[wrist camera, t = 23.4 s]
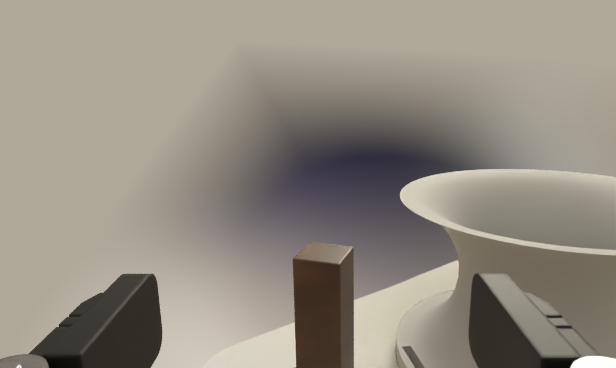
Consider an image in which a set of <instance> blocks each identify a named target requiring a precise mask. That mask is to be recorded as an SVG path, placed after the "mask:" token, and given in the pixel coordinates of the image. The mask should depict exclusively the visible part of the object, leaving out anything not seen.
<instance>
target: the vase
mask: <svg viewBox="0 0 616 368" xmlns="http://www.w3.org/2000/svg"><path fill="white" fill-rule="evenodd" d="M400 198H401V200H402V202H403V203H404V204H405V206H406V207H408V208H409V209H410V210H412V211H413V212H415V213H416V214H418V215H420V216H422V217H424V218H426V219H428V220H430V221H433V222H435V223H438V224H440V225H441V226H442V227H443V228H445V230H446V231H447V233H448V234H449V236H450V237H451V239H452V241H453V243H454V245H455V248H456V250H457V255H458V261H459V277H458V281H457V284H456V288H455V290H452V291H447V292H443V293H440V294H437V295H434V296H431V297H429V298H426V299H424V300H422V301H421V302H419V303H417V304H416V305H414V306H413V307H412V308H411V309H409V310H408V311H407V313H406V314H405V315H404V316H403V318H402V319H401V321H400V323H399V326H398V329H397V342H396V356H397V362H398V366H399V368H478V366H477V364H476V362H475V360H474V359H473V356H472V354H471V350H470V345H469V336H468V330H469V315H470V301H471V286H472V279H473V276H474V274H476V273H507V274H508V275H510V277H511V278H512V279H513V280H514V281H515V282H516V283H517V284H518V285H519V287H520V288H521V289H522V290H523V291H524V292H525V293H533V294H534V295H536V296H538V297H540V298H542V299H543V300H545V301H547V302H549V303H550V304H551V305H552V306H553V307H554V308H555V309H556V310H557V311H558V312H559V313H560V314H561V315H562V318H565V319H566V320H567V321H568V322H569V323H570V324H571V325H572V329H576V330H577V331H578V332H579V334H580V335H581V336H582V337H583V338H584V339H585V340H586V341H587V342H588V343H589V344H590V345H591V346H592V347H593V348H594V349H595V350H596V351H597V352H598V353H599V354H600V355H601V356H602V357H609V358H614V359H616V177H610V176H602V175H594V174H585V173H575V172H564V171H549V170H528V169H487V170H468V171H458V172H450V173H443V174H437V175H432V176H428V177H424V178H421V179H418V180H416V181H413V182H411V183H409V184H408V185H406V186H405V187H404V188H403V189H402V190H401V193H400Z"/></svg>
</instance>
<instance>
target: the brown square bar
mask: <svg viewBox="0 0 616 368" xmlns="http://www.w3.org/2000/svg"><path fill="white" fill-rule="evenodd" d="M353 271H354V270H353V247H349V246H341V245H331V244H323V243H313V242H310V243H309V244H308V245H307V246H306V247H304V248H303V249H302V250H301V251H300V252H299V253H298V254H297V255H296V256H295V257H294V258H293V276H294V277H293V278H294V308H295V338H296V368H354V298H353V297H354V295H353V293H354V291H353V290H354V289H353V288H354V286H353V285H354V284H353V281H354V279H353V277H354V275H353V274H354V272H353Z"/></svg>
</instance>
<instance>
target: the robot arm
mask: <svg viewBox="0 0 616 368" xmlns="http://www.w3.org/2000/svg"><path fill="white" fill-rule="evenodd" d="M468 336H469V345H470V350H471V354H472V356H473V359H474V360H475V362H476V364H477V366H478V368H616V359H614V358H609V357H602V356H601V355H600V354H599V353H598V352H597V351H596V350H595V349H594V348H593V347H592V346H591V345H590V344H589V343H588V342H587V341H586V340H585V339H584V338H583V337H582V336H581V335H580V334H579V332H578V331H577V330H576V329H572V325H571V324H570V323H569V322H568V321H567V320H566V319H565V318H562V315H561V314H560V313H559V312H558V311H557V310H556V309H555V308H554V307H553V306H552V305H551V304H550V303H549V302H547V301H545V300H543V299H542V298H540V297H538V296H536V295H534V294H533V293H525V292H524V291H523V290H522V289H521V288H520V287H519V285H518V284H517V283H516V282H515V281H514V280H513V279H512V278H511V277H510V275H508V274H507V273H476V274H474V276H473V279H472V286H471V301H470V315H469V330H468ZM161 342H162V324H161V315H160V305H159V296H158V287H157V281H156V277H155V276H154V274H122V275H121V276H120V277H119V278H118V279H117V280H116V281H115V282H114V283H113V284H112V285H111V286H110V287H109V288H108V289H107V290H106V291H105V292H104V293H99V294H97V295H96V296H94V297H92V298H90V299H88V300H86V301H84V302H83V303H81V304H80V305H79V306H78V307H77V308H76V309H75V310H74V311H73V312H72V313H71V314H70V315H69V317H67V318H66V319H65V320H63V321H62V322H61V323H60V324H59V327H56V328H55V329H54V330H53V331H52V332H51V333H50V334H49V335H48V336H47V337H46V338H45V339H44V340H43V341H42V342H41V343H40V344H38V345H37V346H36V347H35V348H34V349H33V350H32V351H31V352H30V353H29V354H23V355H16V356H10V357H6V358H3V359H0V368H151V366H152V364H153V362H154V361H155V359H156V358H157V356H158V353H159V351H160V347H161Z"/></svg>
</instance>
